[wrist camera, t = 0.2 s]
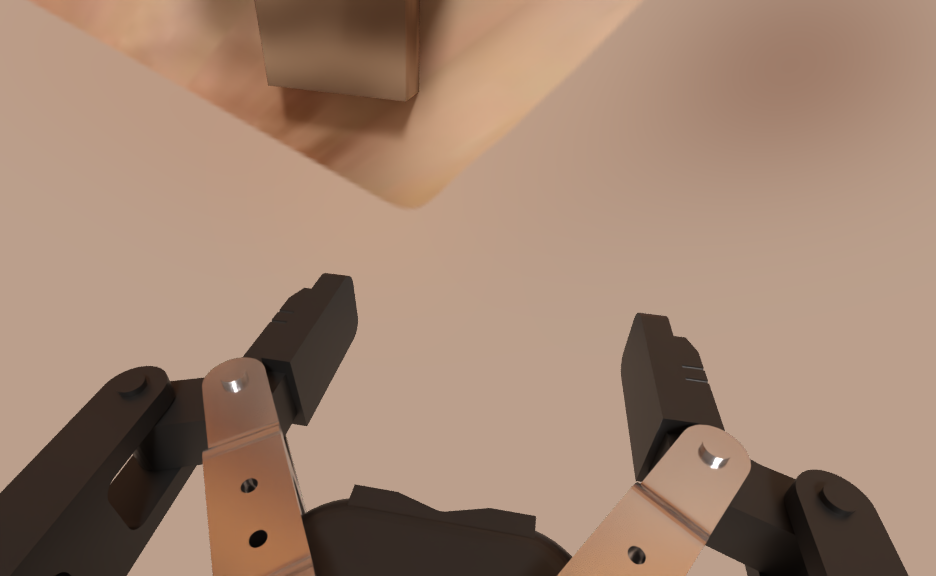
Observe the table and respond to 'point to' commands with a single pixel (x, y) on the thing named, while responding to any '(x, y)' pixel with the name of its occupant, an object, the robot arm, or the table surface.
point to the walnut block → (342, 46)
